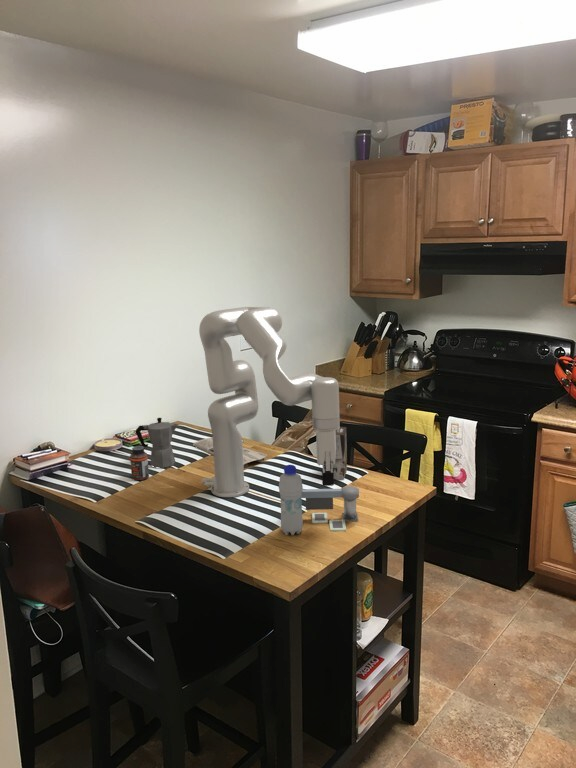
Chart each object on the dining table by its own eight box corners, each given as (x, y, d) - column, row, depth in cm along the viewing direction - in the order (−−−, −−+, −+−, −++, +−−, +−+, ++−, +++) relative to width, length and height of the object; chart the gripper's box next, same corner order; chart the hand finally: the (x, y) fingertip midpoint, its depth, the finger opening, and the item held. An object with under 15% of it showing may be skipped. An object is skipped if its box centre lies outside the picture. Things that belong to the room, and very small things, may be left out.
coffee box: (344, 479, 212) (344, 434, 208) (325, 478, 213) (325, 434, 209) (347, 470, 220) (347, 426, 217) (329, 469, 222) (328, 425, 218)
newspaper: (193, 447, 250) (192, 439, 249) (219, 440, 258) (218, 432, 257) (244, 471, 223) (243, 462, 222) (271, 462, 231) (271, 453, 230)
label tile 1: (312, 523, 181) (312, 521, 181) (311, 514, 187) (311, 512, 187) (327, 522, 181) (327, 521, 181) (326, 513, 187) (326, 512, 187)
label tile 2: (330, 531, 176) (330, 529, 176) (329, 521, 182) (329, 519, 182) (346, 530, 176) (346, 529, 176) (344, 521, 182) (344, 519, 182)
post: (343, 521, 182) (342, 500, 180) (342, 514, 186) (342, 494, 184) (358, 521, 182) (358, 500, 180) (356, 514, 186) (356, 494, 184)
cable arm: (358, 504, 185) (358, 485, 184) (359, 512, 180) (359, 493, 179) (289, 505, 186) (288, 487, 185) (288, 513, 181) (288, 494, 180)
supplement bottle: (128, 480, 217) (125, 449, 214) (138, 474, 222) (135, 444, 220) (142, 482, 215) (139, 451, 212) (152, 475, 220) (149, 445, 217)
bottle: (279, 526, 179) (277, 461, 175) (302, 525, 180) (300, 460, 175) (281, 538, 173) (278, 470, 168) (305, 536, 173) (303, 469, 169)
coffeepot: (180, 457, 237) (176, 412, 233) (181, 466, 228) (178, 419, 224) (138, 462, 234) (134, 416, 230) (138, 471, 225) (134, 423, 221)
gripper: (312, 415, 179) (314, 475, 183) (312, 431, 164) (315, 495, 168) (338, 414, 179) (339, 474, 183) (341, 429, 164) (343, 494, 168)
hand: (328, 484), depth 176 cm, fingers closed
